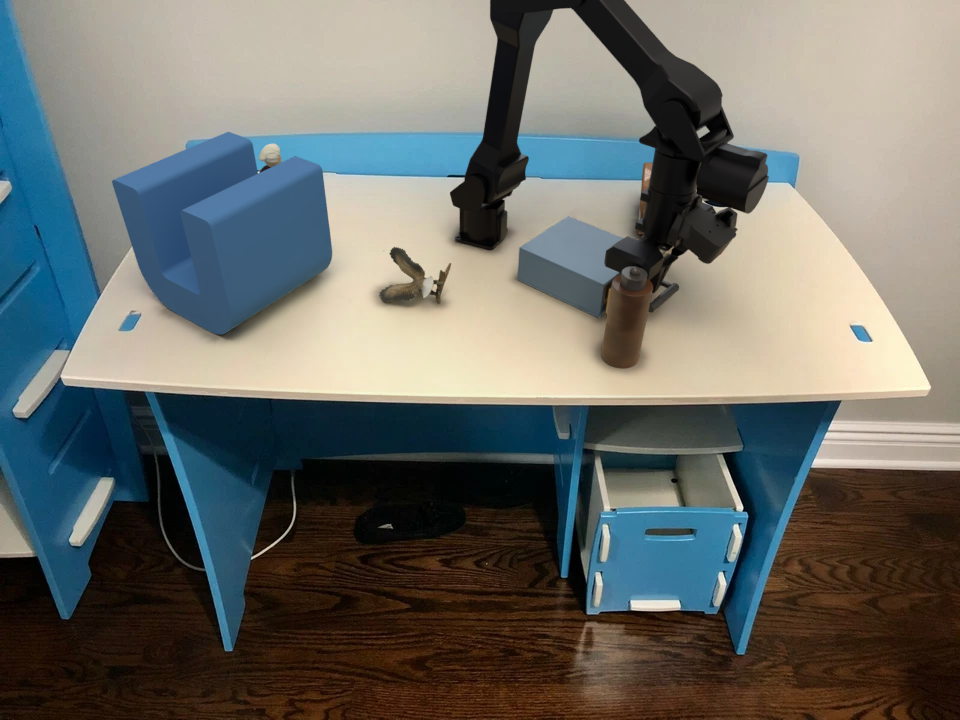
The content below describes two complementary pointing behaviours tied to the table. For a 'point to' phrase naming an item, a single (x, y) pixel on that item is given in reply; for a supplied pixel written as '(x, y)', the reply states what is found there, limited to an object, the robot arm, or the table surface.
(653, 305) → the drawer
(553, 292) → the cabinet
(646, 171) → the tin
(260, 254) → the block
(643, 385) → the table surface
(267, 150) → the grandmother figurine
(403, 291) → the eagle figurine
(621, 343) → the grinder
